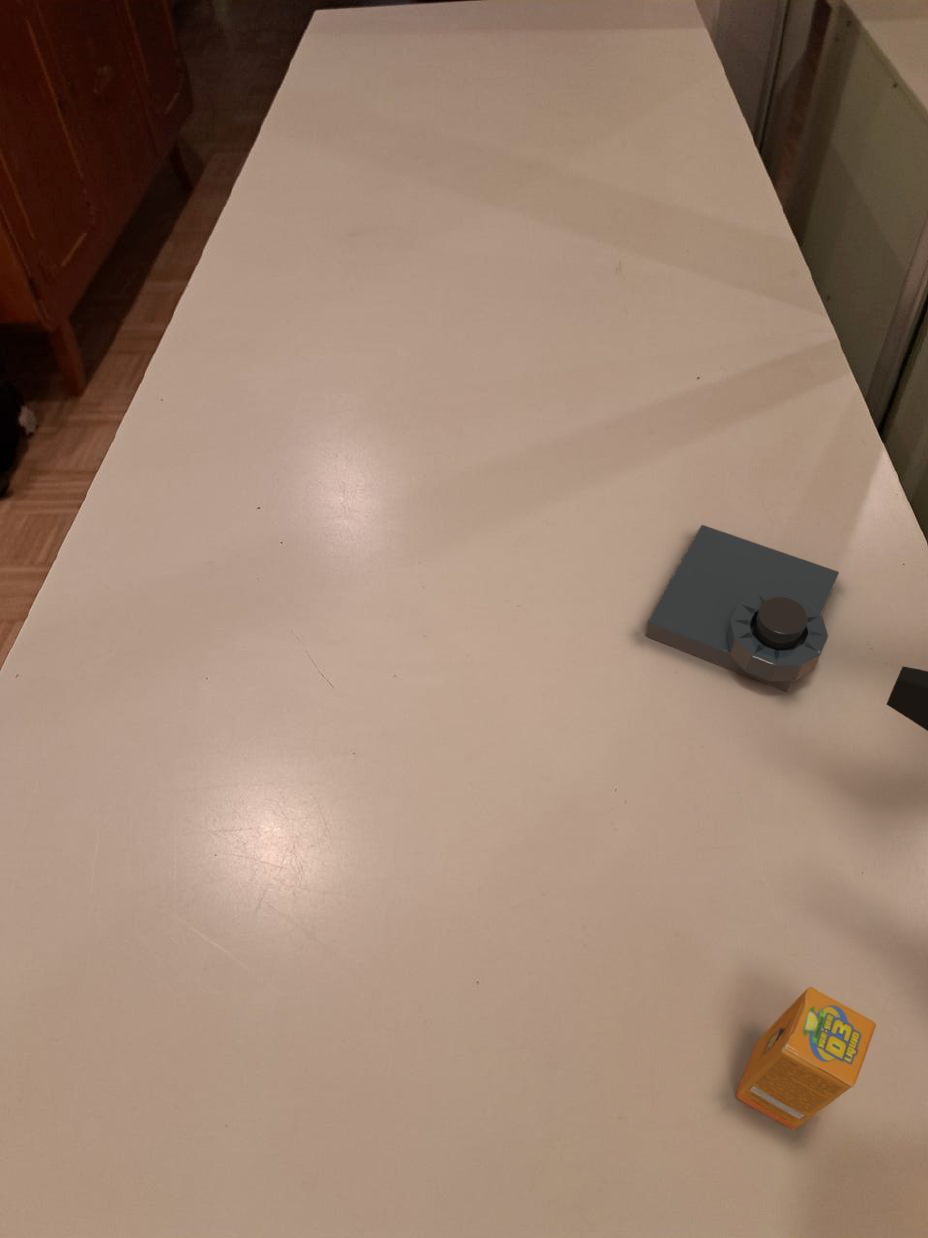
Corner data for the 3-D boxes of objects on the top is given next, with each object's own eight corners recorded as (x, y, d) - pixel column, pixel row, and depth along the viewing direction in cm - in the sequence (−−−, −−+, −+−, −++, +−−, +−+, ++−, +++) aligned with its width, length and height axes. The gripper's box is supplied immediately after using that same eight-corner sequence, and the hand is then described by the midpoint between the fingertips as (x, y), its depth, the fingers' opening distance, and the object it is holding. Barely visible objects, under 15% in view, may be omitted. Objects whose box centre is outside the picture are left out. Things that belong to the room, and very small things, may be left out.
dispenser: (846, 591, 67) (860, 558, 64) (797, 709, 61) (810, 679, 59) (698, 539, 71) (705, 506, 68) (639, 646, 65) (644, 615, 62)
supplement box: (799, 1138, 47) (854, 1094, 39) (733, 1098, 48) (772, 1047, 40) (823, 1075, 48) (879, 1020, 40) (758, 1037, 50) (800, 978, 42)
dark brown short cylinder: (807, 623, 62) (814, 606, 60) (793, 657, 60) (799, 640, 59) (762, 606, 63) (767, 590, 61) (747, 639, 61) (752, 623, 60)
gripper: (1385, 542, 35) (995, 441, 41) (1353, 870, 29) (890, 696, 34) (1280, 651, 41) (949, 549, 46) (1232, 947, 34) (851, 787, 40)
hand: (921, 618), depth 41 cm, fingers open, 7 cm apart
